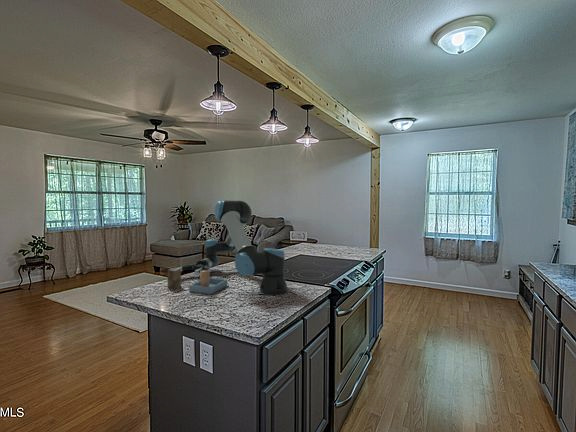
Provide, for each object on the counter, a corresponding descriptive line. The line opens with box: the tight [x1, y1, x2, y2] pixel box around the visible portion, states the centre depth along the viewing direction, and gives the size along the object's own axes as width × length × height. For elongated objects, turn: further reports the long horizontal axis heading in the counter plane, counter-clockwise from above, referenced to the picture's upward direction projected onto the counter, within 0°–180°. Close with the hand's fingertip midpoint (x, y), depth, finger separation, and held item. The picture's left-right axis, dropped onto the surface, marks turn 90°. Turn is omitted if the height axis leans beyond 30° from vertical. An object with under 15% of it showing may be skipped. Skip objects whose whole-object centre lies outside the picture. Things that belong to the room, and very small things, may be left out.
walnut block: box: [167, 267, 182, 289], centre depth 178 cm, size 5×5×10 cm
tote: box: [188, 277, 228, 295], centre depth 176 cm, size 14×18×4 cm
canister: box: [199, 269, 210, 287], centre depth 171 cm, size 5×5×10 cm
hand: (185, 272), depth 188 cm, fingers open, 13 cm apart
